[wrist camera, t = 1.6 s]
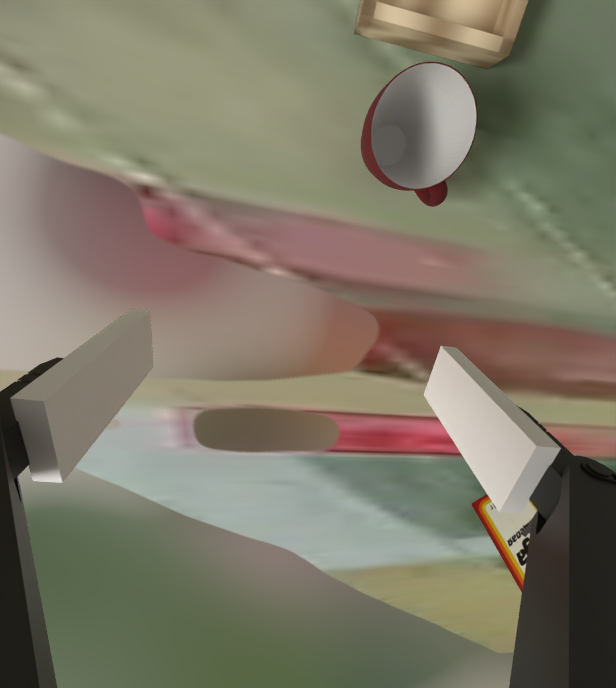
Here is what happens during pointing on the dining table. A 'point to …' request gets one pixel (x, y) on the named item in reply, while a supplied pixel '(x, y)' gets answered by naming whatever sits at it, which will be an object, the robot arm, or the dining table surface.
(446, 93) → the mug
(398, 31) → the wooden tray
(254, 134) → the dining table surface
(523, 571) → the baking soda box
